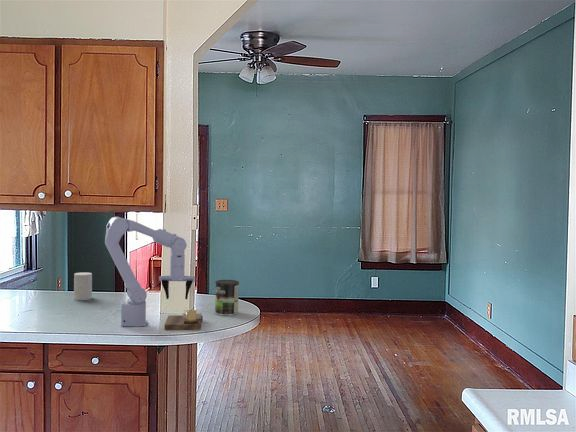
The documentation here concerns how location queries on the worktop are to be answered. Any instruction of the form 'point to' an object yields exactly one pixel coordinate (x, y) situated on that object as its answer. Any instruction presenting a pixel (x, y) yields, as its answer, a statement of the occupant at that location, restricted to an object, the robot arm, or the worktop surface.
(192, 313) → the brass pin
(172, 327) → the walnut board
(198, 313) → the cover
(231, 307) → the coffee can
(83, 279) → the cup
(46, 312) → the worktop surface
